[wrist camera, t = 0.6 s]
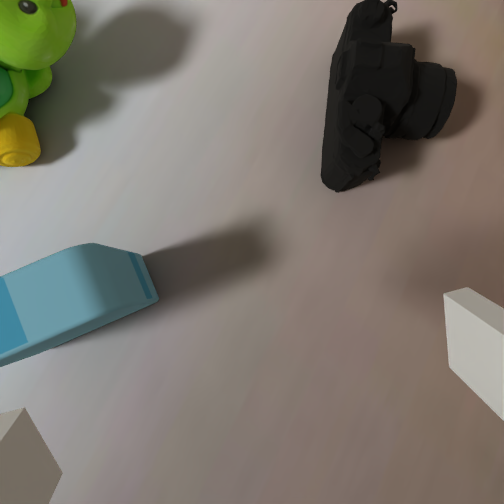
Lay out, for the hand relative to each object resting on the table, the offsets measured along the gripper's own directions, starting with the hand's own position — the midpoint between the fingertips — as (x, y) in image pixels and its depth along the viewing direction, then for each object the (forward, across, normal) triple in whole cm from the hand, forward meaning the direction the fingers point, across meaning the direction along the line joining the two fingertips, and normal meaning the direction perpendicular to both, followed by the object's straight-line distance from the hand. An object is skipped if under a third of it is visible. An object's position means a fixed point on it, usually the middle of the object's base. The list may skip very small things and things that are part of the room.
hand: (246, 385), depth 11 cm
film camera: (+26, -16, -5) cm, 31 cm away
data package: (+22, +14, +4) cm, 26 cm away
